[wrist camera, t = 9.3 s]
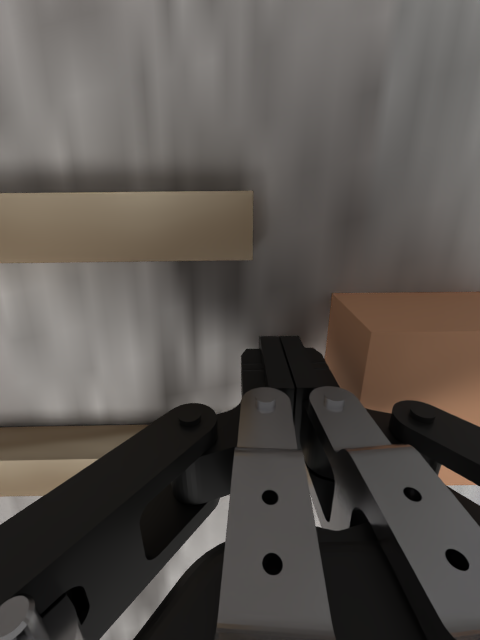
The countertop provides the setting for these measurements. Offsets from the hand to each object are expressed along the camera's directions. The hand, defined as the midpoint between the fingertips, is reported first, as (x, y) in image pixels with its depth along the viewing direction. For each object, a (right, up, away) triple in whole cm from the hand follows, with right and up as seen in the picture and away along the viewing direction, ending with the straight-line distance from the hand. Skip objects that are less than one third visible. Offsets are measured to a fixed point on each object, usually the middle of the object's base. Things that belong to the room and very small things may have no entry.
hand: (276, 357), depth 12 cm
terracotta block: (+5, 0, +2) cm, 6 cm away
